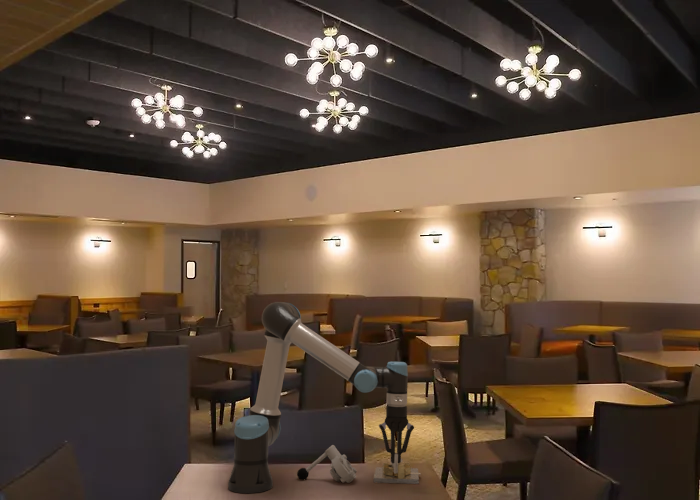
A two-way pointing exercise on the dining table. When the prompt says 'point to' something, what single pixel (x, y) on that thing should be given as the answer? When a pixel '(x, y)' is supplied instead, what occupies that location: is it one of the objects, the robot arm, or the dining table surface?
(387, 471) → the ring nut
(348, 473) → the mechanical valve
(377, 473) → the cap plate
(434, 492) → the dining table surface
